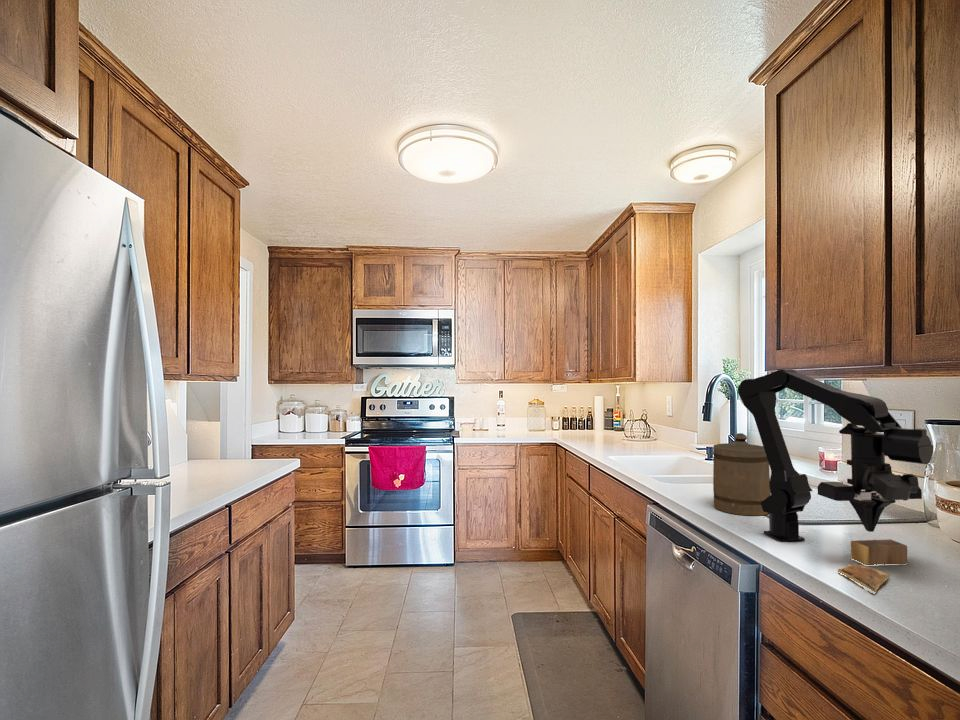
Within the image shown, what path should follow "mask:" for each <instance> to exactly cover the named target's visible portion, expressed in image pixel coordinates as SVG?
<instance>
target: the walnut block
mask: <svg viewBox="0 0 960 720" xmlns="http://www.w3.org/2000/svg"><path fill="white" fill-rule="evenodd" d="M850 558H852V559H854V560H857V561H859V562H861V563H863V564H865V565H874V564H876V565H877V564H884V565H885V564H906V563H909V562H908V545H906V544H903V543H901V542H899V541H896V540H893V539H890V538H889V539H867V540H866V539H865V540H864V539H863V540H850ZM854 560H853V561H854Z"/></svg>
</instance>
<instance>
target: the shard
mask: <svg viewBox="0 0 960 720" xmlns="http://www.w3.org/2000/svg"><path fill="white" fill-rule="evenodd" d="M837 572H840V573H842V574H844V575H846V576H847V577H849V578H851V579H853V580H854V581H856V582H858V583H860V584H861V585H863V586H865V587H867V588H869V589H871V590H872V591H874V592H876V590H877V588H878V587H879V586H880V585H881V586H882V585H884V583H886V582H887V581H888V580H889V579H890V574H887V573H885V572H883V571H880V570H879V569H875V568H871V567H866V566H864V565H860V564H859V565H858V564H853V563H852V564H851V563H850V564H848V565H846V566H844V567H842V568H838V569H837ZM888 578H889V579H888ZM887 579H888V580H887ZM886 580H887V581H886ZM885 581H886V582H885ZM883 582H884V583H883ZM881 586H880V587H881ZM880 587H879V588H880ZM877 591H878V590H877Z"/></svg>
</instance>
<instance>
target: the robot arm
mask: <svg viewBox="0 0 960 720" xmlns="http://www.w3.org/2000/svg"><path fill="white" fill-rule="evenodd" d="M785 389H789V390H792V391H794V392H796V393H798V394H801V395H803V396H805V397H808V398H810V399H812V400H814V401H817V402H819V403H821V404H823V405H825V406H828V407H829V408H830V409H832V410H834V412H835V413H837V414H838V415H839V416H840V417H841V418H843V419H844V420H846V421H848V422H849V423H847V424H846V425H845V426H844V427H843V428H841V429H840V430H839V431H838V432H839V434H841V435H850V457H851V458H850V459H846V465H847V466H851V468H850V469H851V478H847V481H846V482H847V484H846V483H842V482H839V481H821V482H819V484H818V485H817V495H819V496H821V497H823V498H827V499H830V500H831V501H832V500H833V501H836V502H837V501H838V502H849V503H850V505H851V506H852V508H853V509H854V511H855V513H856V514H857V516H858V518H859V520H860V521H861V523H862V525H863V527H864V529H865V531H866V532H872V533H873V532H874V531H875V529H876V526H877V524H878V522H879V519H880V518H881V515H882V513H883V511H884V510H885V508H887V507H888V506H890V505H892V504H895V503H896V502H897V501H899V500H900V501H909V500H922V499H923V494H922V493H923V492H922V491H923V490H922V488H921V487H920V485H919V478H918V476H916V475H915V474H912V473H910V474H909V473H905V474H902V475H901V474H895V473H893V472H892V466H891V463H889V462H888V463H886V457H887V458H888V459H889V460H891V461H897V462H904V463H911V464H920V465H929V463H931V461H932V459H933V455H934V445H933V444H932V440H931V438H930V437H929V435H928V434H927V431H928V430H927V429H926V428H905V427H904V428H903V427H902V426H901V425H900V423H899V422H898V421H897V420H896V419H895V417H894V416H893V415H892V414H891V413H890V412H889V407H888V406H887V403H886V402H885V401H884V400H883V399H881V398H878V397H874V396H870V395H866V394H862V393H855V392H850V391H845V390H842V389H839V388H837V387H836V386H835V387H834V386H832V385H830V384H828V383H825V382H822V381H820V380H817V379H815V378H812V377H810V376H808V375H805V374H803V373H801V372H798V371H796V369H792V368H781V369H778V370H775V371H774V372H772V373H768V374H765V375H761V376H759V377H755V378H746V379H743V380H741V382H740V383H739V386H738V387H737V393H738V396H739V399H740V400H741V402H742V404H743V406H744V407H745V408H746V409H747V410H748V411H749V412H750V413H751V414H752V416H753V418H754V422H755V425H756V428H757V431H758V435H759V436H760V440H761V444H762V446H763V447H764V450H765V453H766V456H767V459H768V462H769V470H770V483H769V486H770V493H771V495H770V496H769V497H767V498H766V499H765V500H764V501H763V502H761V506H762V509H763V511H764V512H767V513H769V514H768V521H769V522H768V523H769V530H764V531H763V534H765V535H767V536H768V537H771V538H772V539H773V540H776V541H778V542H796V541H800V542H801V541H805V540H806V539H805V537H803V536H801V535H800V534H799V533H800V530H799V529H800V528H799V527H800V525H799V524H800V523H799V515H798V514H797V513H799V512H804V509H805V507H806V505H808V503H810V500H811V499H812V493H811V492H813V488H812V487H811V486H810V484H809V479H808V475H807V474H806V473H802V474H800V473H799V472H798V471H797V470H796V469H795V468H794V466H793V465H794V464H793V462H792V459H791V456H790V453H789V451H788V448H787V444H786V441H785V438H784V436H783V432H782V430H781V427H780V424H779V420H778V416H777V414H776V411H775V409H776V405H777V394H778V393H779V392H782V391H784V390H785Z"/></svg>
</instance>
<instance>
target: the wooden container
mask: <svg viewBox="0 0 960 720" xmlns="http://www.w3.org/2000/svg"><path fill="white" fill-rule="evenodd" d="M733 438H734V441H732V443H729V442H728V443H717V444H714V445H713V448H712V450H713V460H712V461H713V464H712V465H713V466H712V467H713V470H712V471H713V474H712V475H713V476H712V477H713V478H712V479H713V481H712V482H713V483H712V485H713V490H712V492H713V506H714V508H715V509H716V510H718V511H720V512H723V513H727V514H731V515H740V516H746V517H747V516H749V517H757V516H759V517H760V516H767V515H769V514H768V513H767V512H764V511H763V509H762V506H761V502H763V501H764V500H765V499H766V498H767V497H769V496H770V495H771V492H770V486H769V483H770V477H771V474H770V466H769V462H768V459H767V456H766V453H765V450H764V447H763V445H759V444H750V443H748V442H747V441H746V440H747V439H748V436H747V435H746V434H744V433H741V432H740V433H736V434H734V436H733Z"/></svg>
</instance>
